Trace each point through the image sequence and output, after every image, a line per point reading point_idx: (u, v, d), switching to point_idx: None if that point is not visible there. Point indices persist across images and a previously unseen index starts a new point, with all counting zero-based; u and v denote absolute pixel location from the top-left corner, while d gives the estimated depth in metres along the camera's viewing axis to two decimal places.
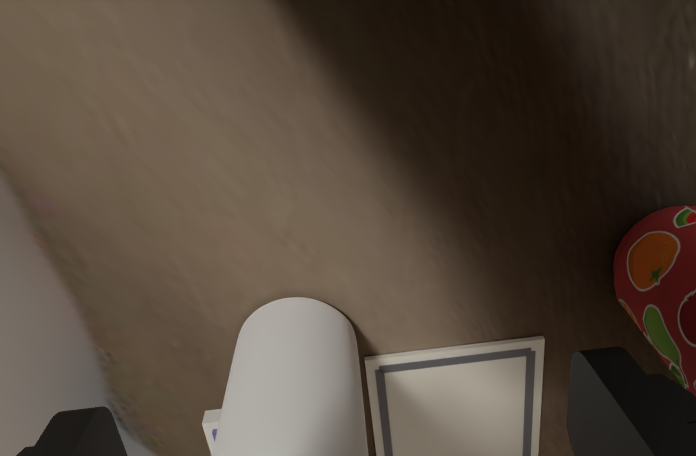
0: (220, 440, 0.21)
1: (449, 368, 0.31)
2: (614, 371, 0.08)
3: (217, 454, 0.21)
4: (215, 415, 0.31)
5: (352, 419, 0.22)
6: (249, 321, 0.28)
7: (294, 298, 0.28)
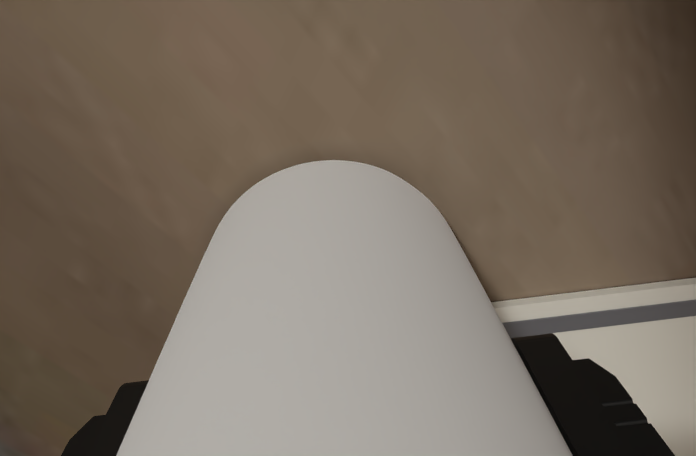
0: None
1: (638, 330, 0.15)
2: (542, 355, 0.09)
3: None
4: None
5: (553, 425, 0.07)
6: (230, 211, 0.13)
7: (330, 161, 0.13)
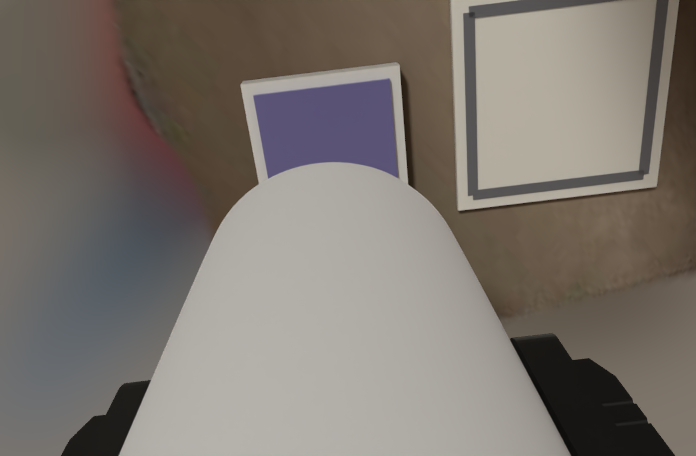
0: None
1: (558, 14, 0.24)
2: (542, 356, 0.09)
3: None
4: (257, 80, 0.24)
5: (552, 427, 0.07)
6: (231, 213, 0.13)
7: (331, 163, 0.13)
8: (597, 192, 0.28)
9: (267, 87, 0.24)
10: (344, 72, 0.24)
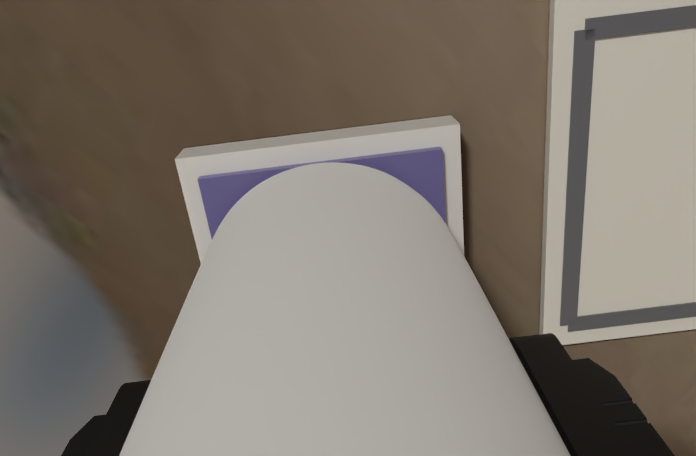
0: None
1: None
2: (541, 355, 0.09)
3: None
4: (206, 149, 0.14)
5: (551, 425, 0.07)
6: (230, 213, 0.13)
7: (330, 163, 0.13)
8: None
9: (223, 163, 0.14)
10: (361, 136, 0.13)
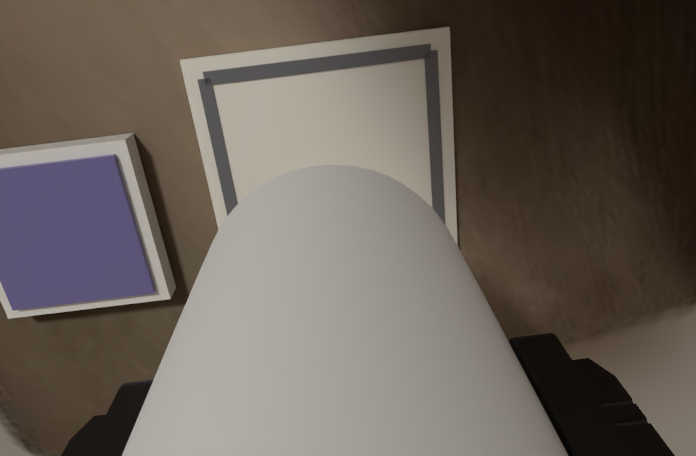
0: None
1: (311, 80, 0.21)
2: (542, 355, 0.09)
3: None
4: None
5: (551, 430, 0.07)
6: (230, 215, 0.13)
7: (330, 165, 0.13)
8: None
9: None
10: (61, 147, 0.21)
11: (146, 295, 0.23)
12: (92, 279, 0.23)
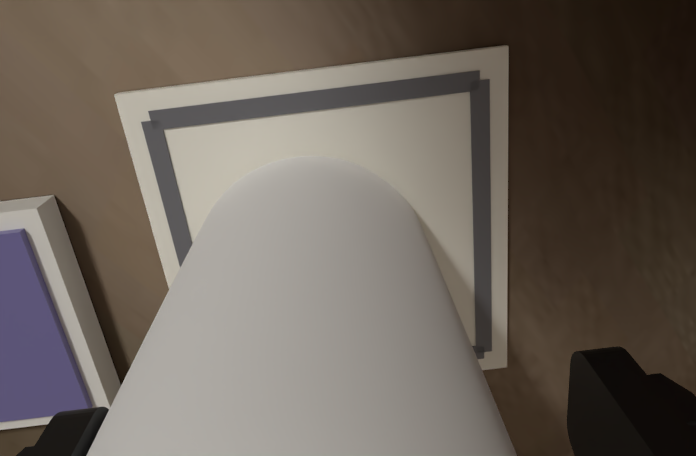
0: (100, 429, 0.07)
1: (305, 122, 0.14)
2: (614, 371, 0.08)
3: None
4: None
5: (471, 367, 0.08)
6: (216, 204, 0.14)
7: (305, 156, 0.14)
8: None
9: None
10: None
11: None
12: (1, 394, 0.16)
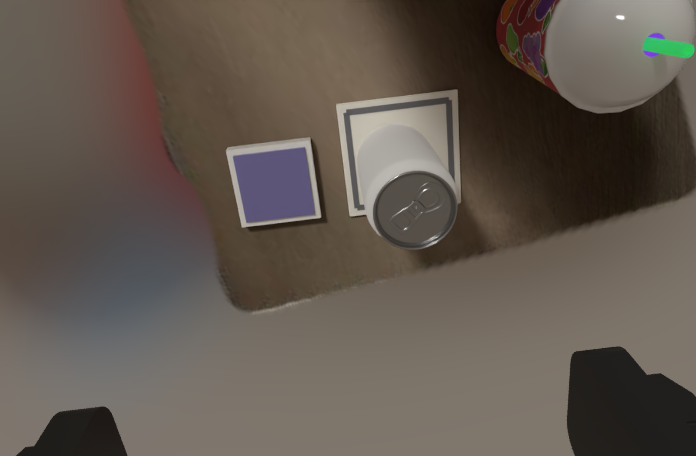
0: (370, 170, 0.39)
1: (394, 113, 0.45)
2: (614, 371, 0.08)
3: (371, 173, 0.38)
4: (235, 147, 0.46)
5: (442, 162, 0.39)
6: (367, 138, 0.45)
7: None
8: None
9: (240, 151, 0.46)
10: (281, 143, 0.45)
11: (310, 215, 0.48)
12: (286, 206, 0.47)
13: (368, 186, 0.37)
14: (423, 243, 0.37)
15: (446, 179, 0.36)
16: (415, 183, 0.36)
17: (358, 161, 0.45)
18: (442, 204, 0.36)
